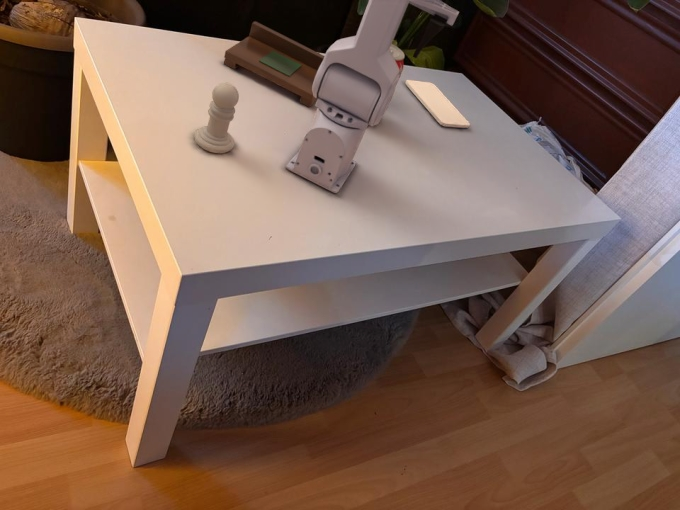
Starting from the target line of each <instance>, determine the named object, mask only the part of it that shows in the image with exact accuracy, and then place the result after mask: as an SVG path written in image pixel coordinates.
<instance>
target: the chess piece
mask: <svg viewBox="0 0 680 510" xmlns="http://www.w3.org/2000/svg"><path fill="white" fill-rule="evenodd" d="M211 98H212V100H211V101H210V103H209V108H208V109H207V113H208V116H209V118H208V122H207V125H205V126H204V125H203V126H201V127H199V128H197V129H196V130H195V132H194V135H193V136H194V137H193V138H194V141H195V143H196V144H197V145H198V146H199V147H200V148H201V149H203V150H205V151H206V152H210V153H214V154H226V153H229V152H230V151H232V149H234V146H235V140H234V138H233V136H232V135H231V134H230V132H229V127H230V123H231V122H232V121H233V120H234V118H235V116H234V115H235V113H236V108H235V107H236V105H237V104H238V102H239V98H240V94H239V91H238V89H237V88H236V86H235V85H233V84H231V83H229V82H220V83H218V84H216V85H215V86H214V87H213V89H212V92H211Z"/></svg>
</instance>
